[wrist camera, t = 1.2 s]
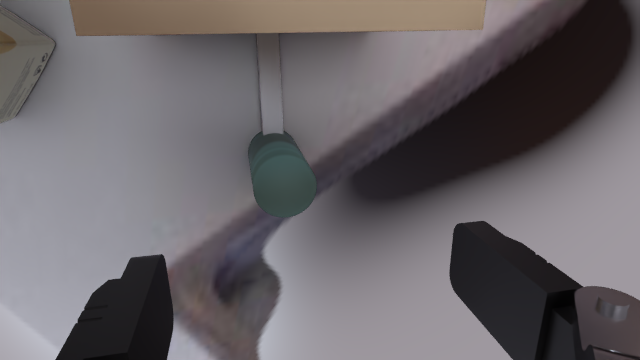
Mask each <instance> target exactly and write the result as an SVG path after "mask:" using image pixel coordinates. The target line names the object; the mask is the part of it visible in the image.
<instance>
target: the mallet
mask: <svg viewBox="0 0 640 360" xmlns="http://www.w3.org/2000/svg"><path fill="white" fill-rule="evenodd" d="M256 42H257V58H258V74H259V89H260V105H261V121H262V132H260V133H258V134H257V135H256V136H255V137H254V138H253V139H252V141H251V143H250V145H249V150H248V156H249V163H250V170H251V177H252V184H253V191H254V196H255V199H256V202H257V203H258V205H259V206H260V207H261V208H262V209H263V210H264V211H265V212H267V213H268V214H270V215H273V216H276V217H291V216H295V215H297V214H299V213H301V212H302V211H304V210H305V209H306V208H308V207H309V205H310V204H311V203H312V201H313V199H314V197H315V194H316V190H317V183H316V178H315V176H314V173H313V172H312V170H311V168H310V167H309V165H308V163H307V161H306V160H305V158H304V156H303V155H302V153H301V151H300V150H299V148H298V146H297V145H296V143H295V141H294V140H293V138H292V137H291V136H290V135H289V134H288V133H286V132H284V131H283V112H282V90H281V68H280V46H279V33H256Z"/></svg>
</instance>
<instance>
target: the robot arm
mask: <svg viewBox="0 0 640 360" xmlns="http://www.w3.org/2000/svg"><path fill="white" fill-rule="evenodd" d="M450 280H451V285H452V287H453V290H454V291H455V293H456V294H457V295H458V297H459V298H460V299H461V300H462V301H463V302H464V304H466V306H467V307H468V308H469V309H470V310H471V311H472V313H473V314H474V315H475V316H476V317H477V318H478V320H479V321H480V322H481V323H482V324H483V325H484V327H485V328H486V329H487V330H488V331H489V332H490V334H491V335H492V336H493V337H494V338H495V339H496V340H497V342H498V343H499V344H500V345H501V346H502V347H503V349H504V350H505V351H506V352H507V353H508V354H509V355H510V357H511V358H512V359H513V360H640V301H639V300H638V299H636V298H634V297H632V296H630V295H628V294H626V293H623V292H621V291H617V290H614V289H610V288H606V287H598V286H587V287H583V286H581V285H580V284H579V283H577V282H576V281H574V280H573V279H571V278H570V277H569V276H567V275H566V274H565V273H563V272H562V271H560V270H559V269H557V268H556V267H555V266H553V265H552V264H550V263H547V261H546V260H545V259H543V258H542V257H541V256H539V255H536V254H535V252H534V251H532V250H531V249H530V248H528V247H527V246H525V245H524V244H522V243H520V242H518V241H516V240H513V239H511V238H509V237H506V236H504V235H503V234H501V233H500V232H499V231H497V230H496V229H495V228H493V227H492V226H491V225H489V224H488V223H487V222H485V221H477V222H468V223H459V224H457V225H456V226H455V228H454V233H453V243H452V252H451V263H450ZM84 309H85V310H84V311H82V313H81V315H80V317H79V318H78V323H76V324H75V326H74V327H73V329H72V331H71V333H70V335H69V336H68V338H67V340H66V342H65V344H64V345H63V347H62V349H61V351H60V353H59V354H58V356H57V358H56V360H167V356H168V351H169V346H170V342H171V337H172V332H173V305H172V299H171V293H170V287H169V280H168V274H167V268H166V262H165V258H164V256H163V255H162V254H161V255H151V256H142V257H132V258H131V259H130V260H129V262H128V264H127V266H126V269H125V271H124V273H123V275H122V277H121V279H112V280H108V281H107V282H105V283H104V284H103V285H102V286H101V287H99V288H98V289H97V290H96V291H95V292H93V293H92V295H91V297H90V299H89V300H88V302H87V304H86V306H85V308H84Z"/></svg>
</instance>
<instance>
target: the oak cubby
mask: <svg viewBox="0 0 640 360" xmlns="http://www.w3.org/2000/svg"><path fill="white" fill-rule="evenodd" d="M69 1H70V6H71V11H72V16H73V21H74V26H75V31H76V36H111V35H180V34H235V33H300V32H381V31H435V30H483V24H484V15H485V6H486V0H69Z"/></svg>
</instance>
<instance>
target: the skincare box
mask: <svg viewBox="0 0 640 360" xmlns="http://www.w3.org/2000/svg"><path fill="white" fill-rule="evenodd" d="M54 46H55V42H54V41H53V40H52V39H51V38H49V37H48V36H46V35H45V34H43V33H42V32H40V31H39V30H37V29H36V28H34V27H33V26H31V25H30V24H28V23H27V22H25V21H24V20H22V19H21V18H19V17H18V16H16V15H15V14H13V13H11V12H10V11H8V10H7V9H5V8H4V7H2V6H0V123H2V122H5V121H8V120H11V119H13V118H14V117H15V116H16V115H17V113H18V111H19V110H20V108H21V106H22V105H23V103H24V102H25V100H26V98H27V97H28V95H29V93H30V91H31V90H32V88H33V86H34V85H35V83H36V81H37V80H38V78H39V76H40V74H41V72H42V71H43V69H44V67H45V65H46V63H47V61H48V59H49V57H50V55H51V53H52V51H53V49H54Z"/></svg>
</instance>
